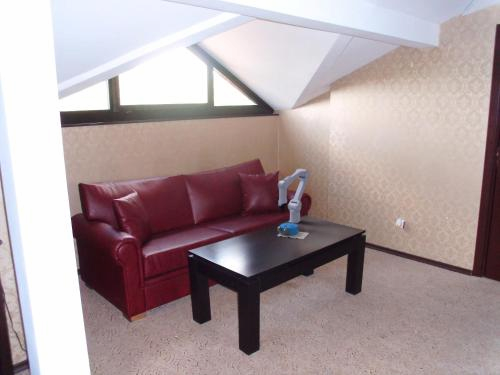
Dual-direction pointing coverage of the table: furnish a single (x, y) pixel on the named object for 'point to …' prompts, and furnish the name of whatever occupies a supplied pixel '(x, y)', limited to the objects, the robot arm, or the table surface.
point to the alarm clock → (288, 229)
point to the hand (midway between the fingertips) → (282, 212)
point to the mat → (300, 235)
